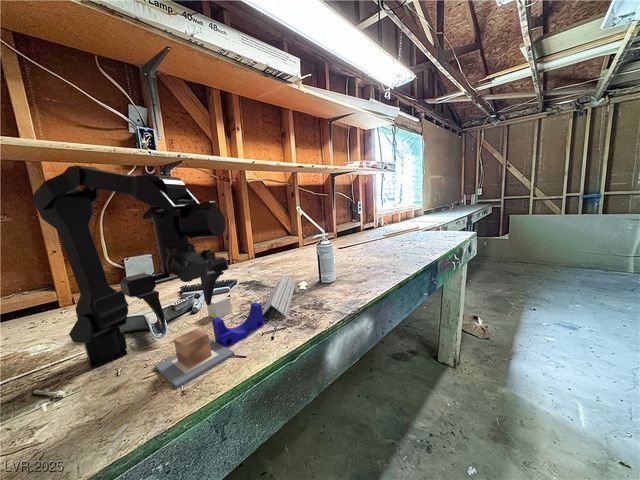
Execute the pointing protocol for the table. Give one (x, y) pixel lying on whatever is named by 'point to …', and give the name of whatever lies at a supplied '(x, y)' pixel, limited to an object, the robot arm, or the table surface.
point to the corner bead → (278, 293)
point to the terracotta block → (192, 347)
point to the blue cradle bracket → (235, 334)
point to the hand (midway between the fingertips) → (187, 313)
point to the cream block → (219, 306)
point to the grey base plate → (182, 374)
